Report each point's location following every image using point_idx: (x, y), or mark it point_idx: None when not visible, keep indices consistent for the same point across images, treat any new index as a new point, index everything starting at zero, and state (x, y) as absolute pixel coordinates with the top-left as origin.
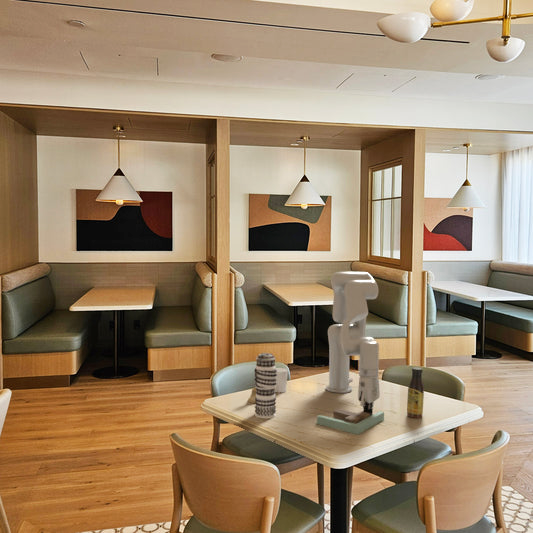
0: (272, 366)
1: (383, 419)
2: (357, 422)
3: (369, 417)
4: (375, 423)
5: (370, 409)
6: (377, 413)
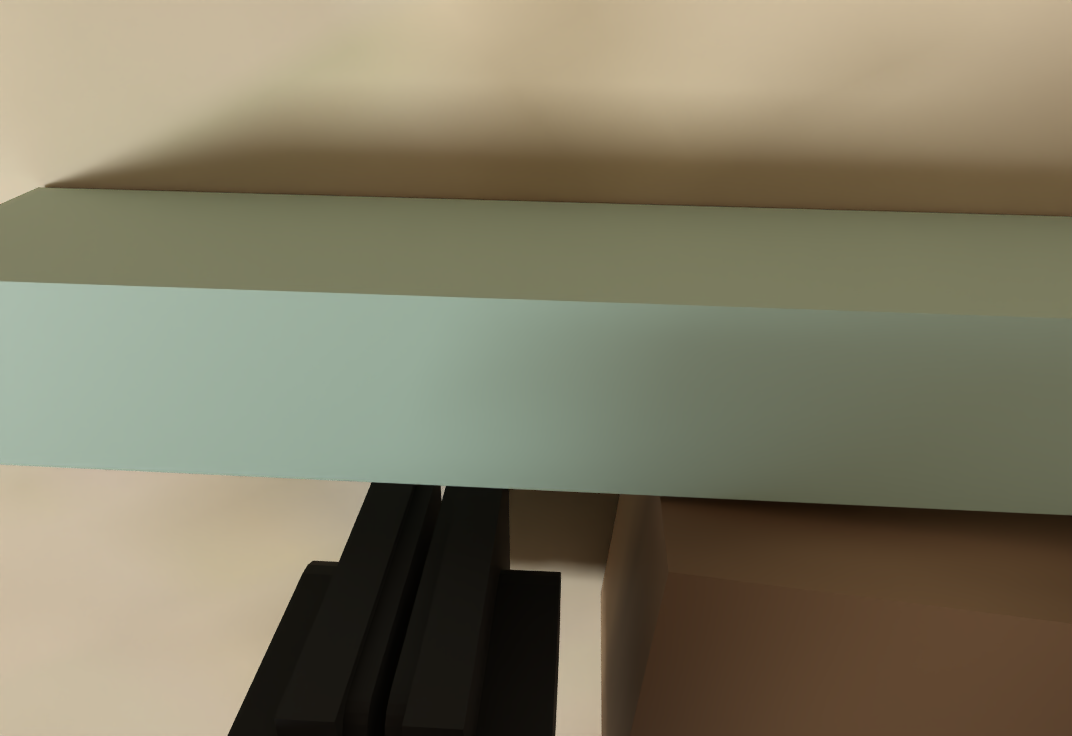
0: None
1: (65, 191)
2: None
3: (899, 459)
4: (646, 214)
5: (471, 722)
6: (216, 411)
